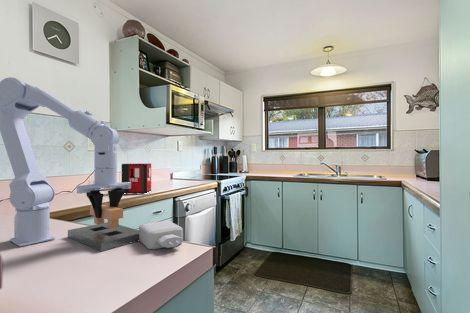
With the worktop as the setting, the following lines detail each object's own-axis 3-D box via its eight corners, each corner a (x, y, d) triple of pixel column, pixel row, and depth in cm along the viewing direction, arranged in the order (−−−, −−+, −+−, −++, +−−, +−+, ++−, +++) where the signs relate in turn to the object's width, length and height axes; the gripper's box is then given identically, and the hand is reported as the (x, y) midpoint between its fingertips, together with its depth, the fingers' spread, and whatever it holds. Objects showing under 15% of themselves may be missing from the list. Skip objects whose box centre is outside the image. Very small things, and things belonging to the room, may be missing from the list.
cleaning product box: (151, 192, 177) (151, 163, 177) (146, 194, 168) (146, 163, 168) (127, 192, 177) (127, 163, 177) (121, 194, 168) (121, 163, 168)
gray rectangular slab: (67, 237, 74) (67, 230, 74) (108, 228, 84) (108, 221, 84) (101, 251, 62) (101, 243, 62) (144, 239, 72) (144, 232, 72)
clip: (89, 223, 75) (89, 206, 75) (101, 221, 78) (101, 204, 78) (110, 229, 68) (110, 210, 68) (123, 226, 71) (123, 208, 71)
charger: (156, 258, 58) (138, 241, 71) (193, 250, 63) (171, 236, 76) (155, 237, 58) (138, 224, 71) (193, 231, 63) (171, 219, 76)
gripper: (84, 169, 65) (84, 223, 65) (136, 168, 77) (136, 213, 77) (73, 169, 69) (73, 219, 69) (123, 167, 81) (124, 210, 81)
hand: (105, 216), depth 73 cm, fingers closed on clip, 3 cm apart
